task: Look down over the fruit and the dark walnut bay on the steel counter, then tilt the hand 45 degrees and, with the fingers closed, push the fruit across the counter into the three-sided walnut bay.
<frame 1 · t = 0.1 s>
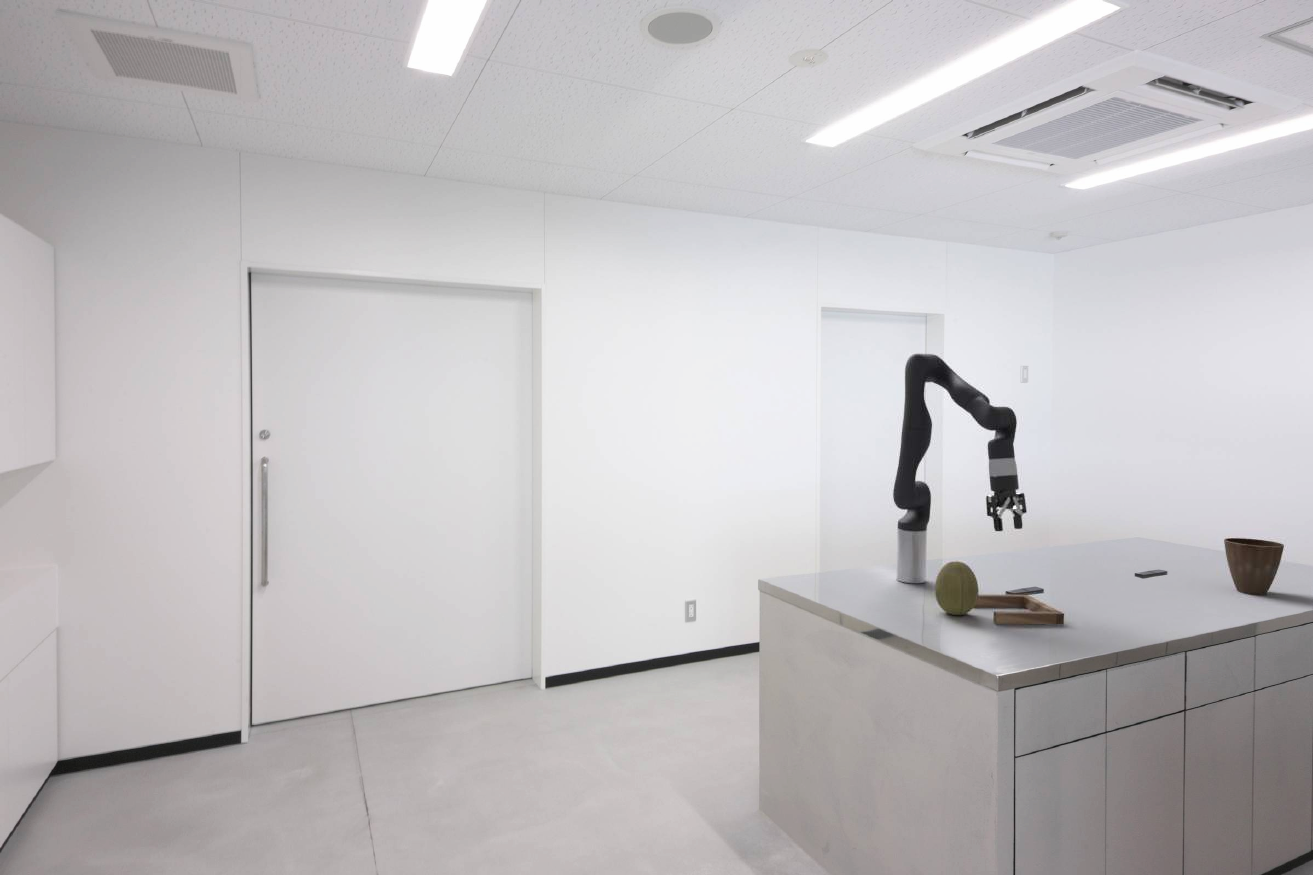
hand: (1008, 529, 221), 22 cm above the table, tool pointing down, fingers open, 8 cm apart
fruit: (955, 614, 214), on the table
walnut bay: (1009, 614, 214), on the table
plant pot: (1251, 592, 240), on the table
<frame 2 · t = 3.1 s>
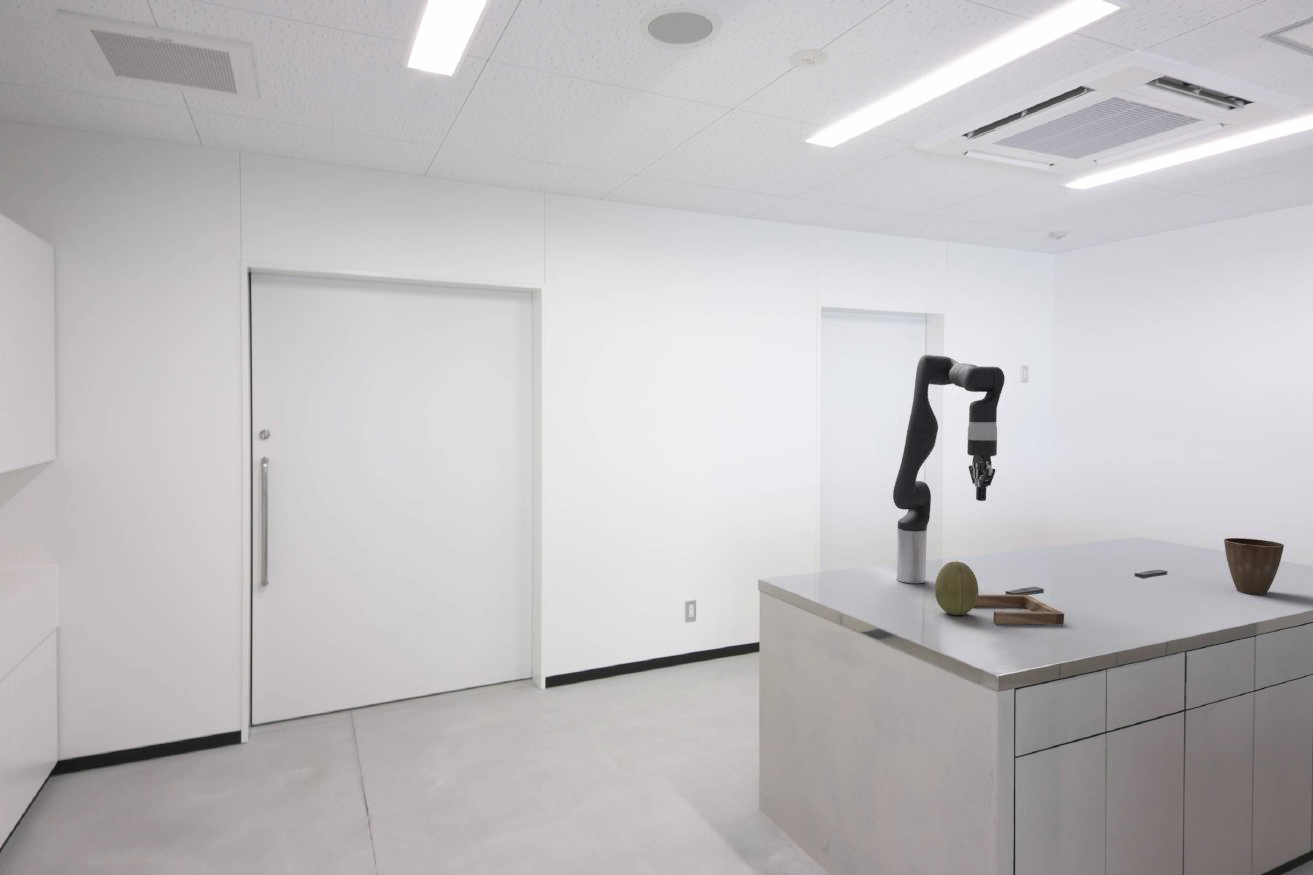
hand: (980, 500, 212), 32 cm above the table, tool pointing down, fingers closed
nothing on the table moved.
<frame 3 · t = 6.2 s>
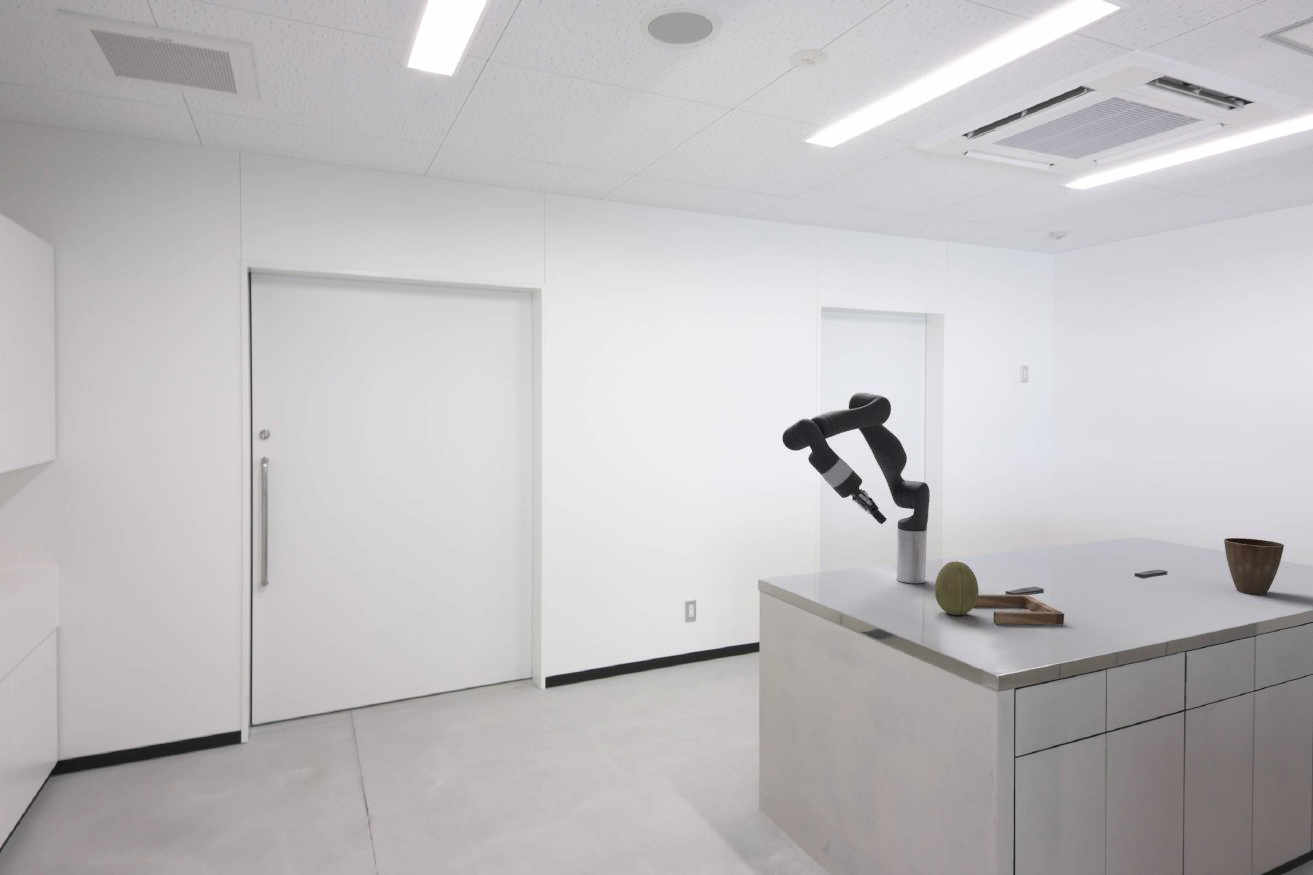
hand: (883, 521, 212), 26 cm above the table, tool tilted 45°, fingers closed
nothing on the table moved.
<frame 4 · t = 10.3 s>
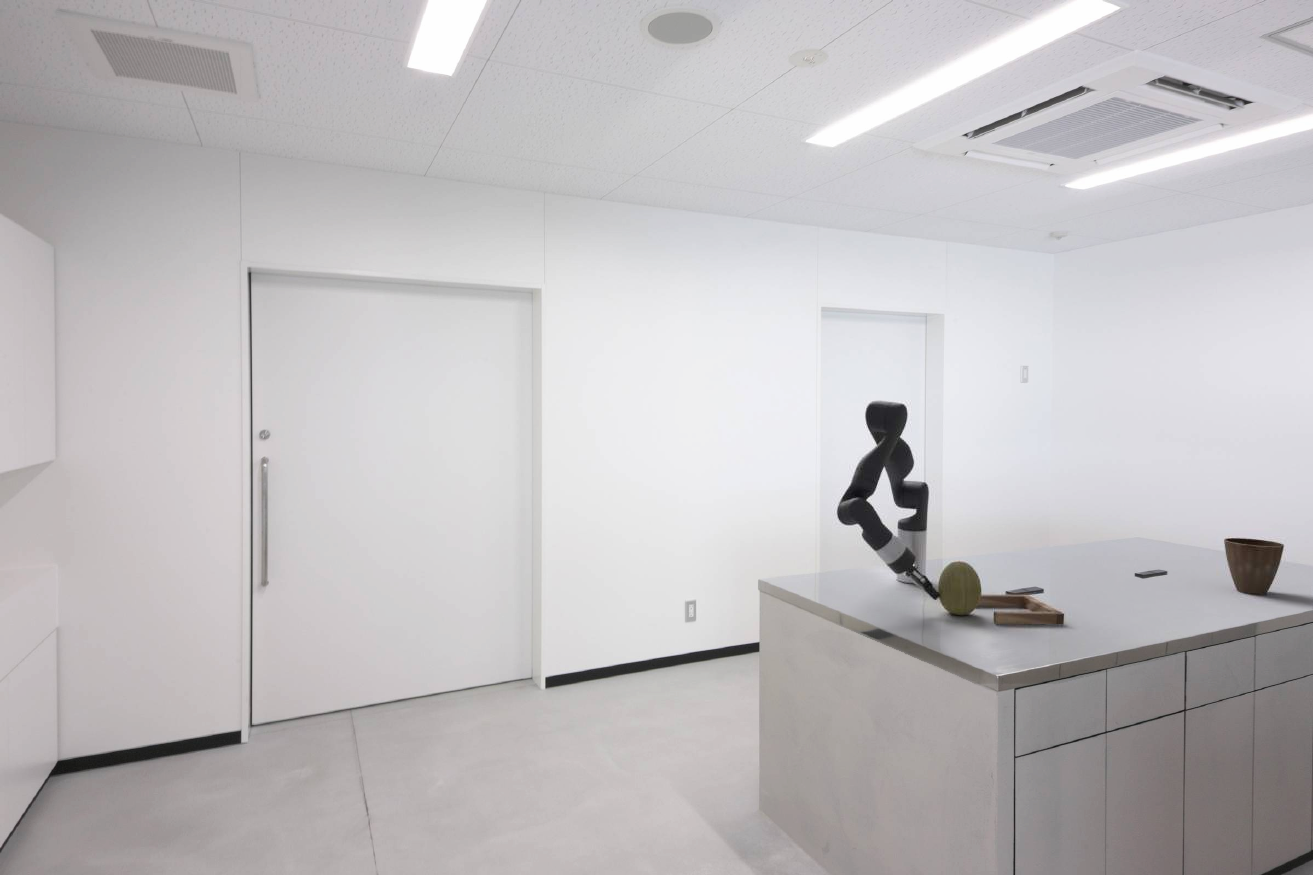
hand: (937, 597, 213), 5 cm above the table, tool tilted 45°, fingers closed
fruit: (958, 614, 214), on the table, touching gripper
everything else where it was.
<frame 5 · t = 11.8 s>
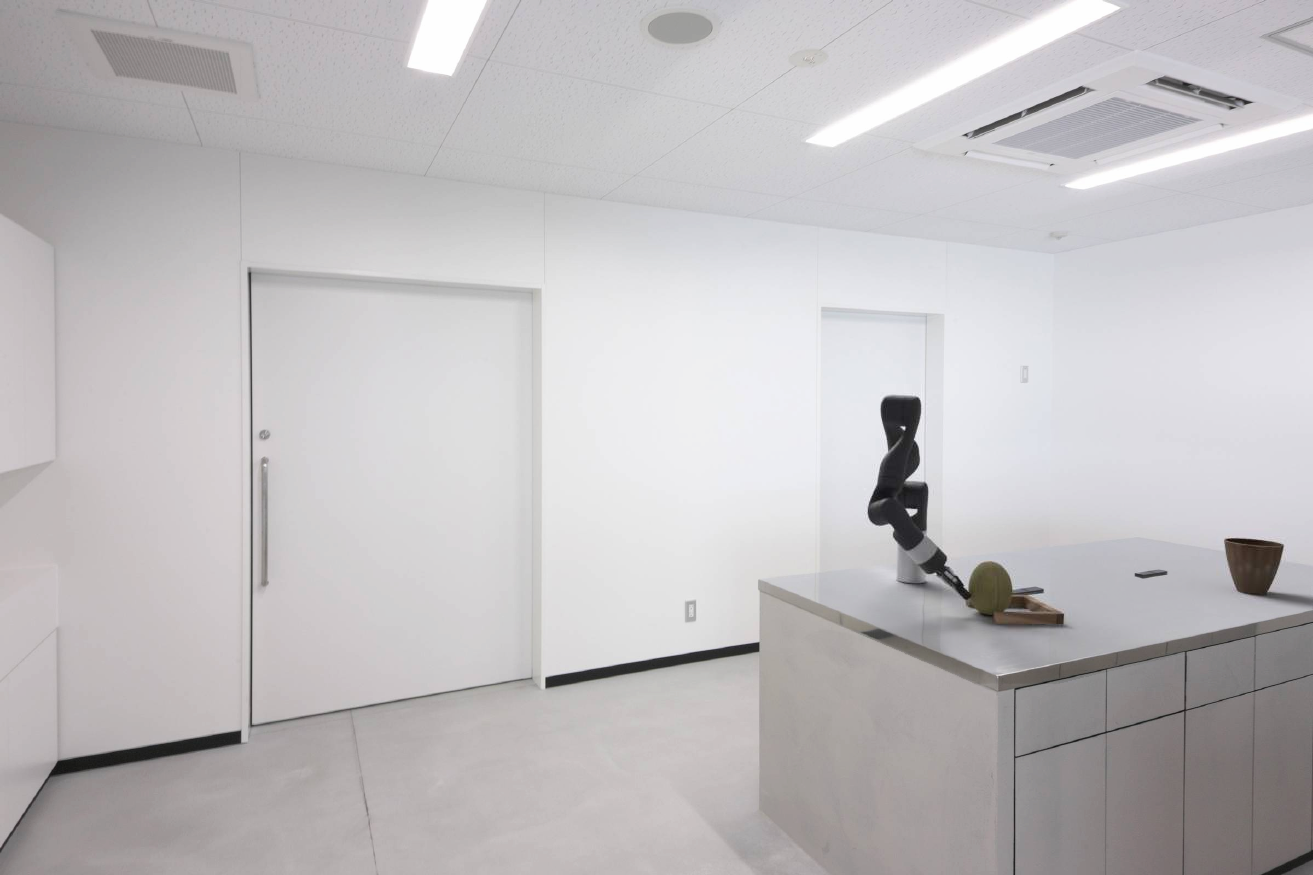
hand: (968, 597, 213), 5 cm above the table, tool tilted 45°, fingers closed
fruit: (989, 614, 214), on the table, touching gripper
everything else where it was.
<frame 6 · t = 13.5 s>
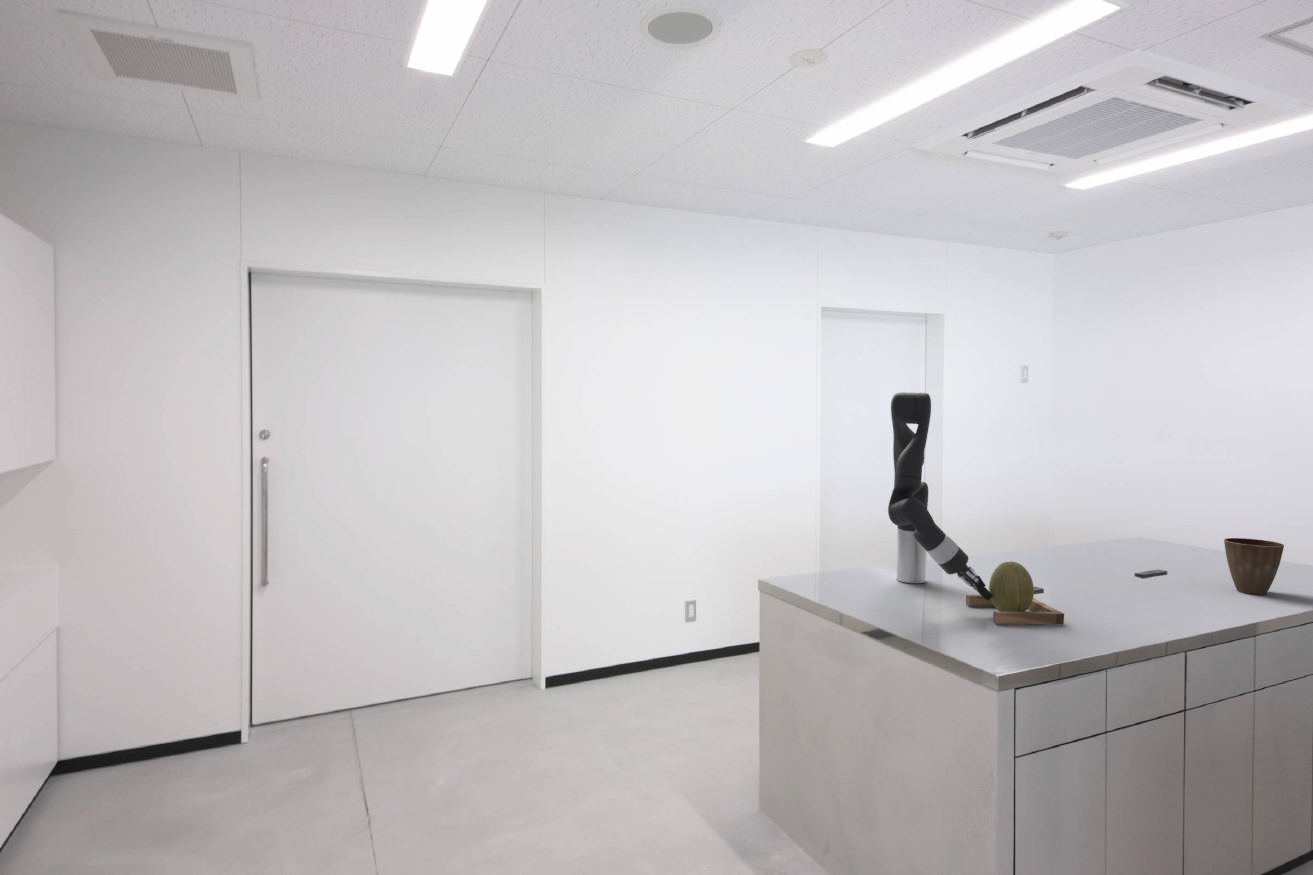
hand: (989, 597, 213), 5 cm above the table, tool tilted 45°, fingers closed
fruit: (1010, 614, 214), on the table, touching gripper
everything else where it was.
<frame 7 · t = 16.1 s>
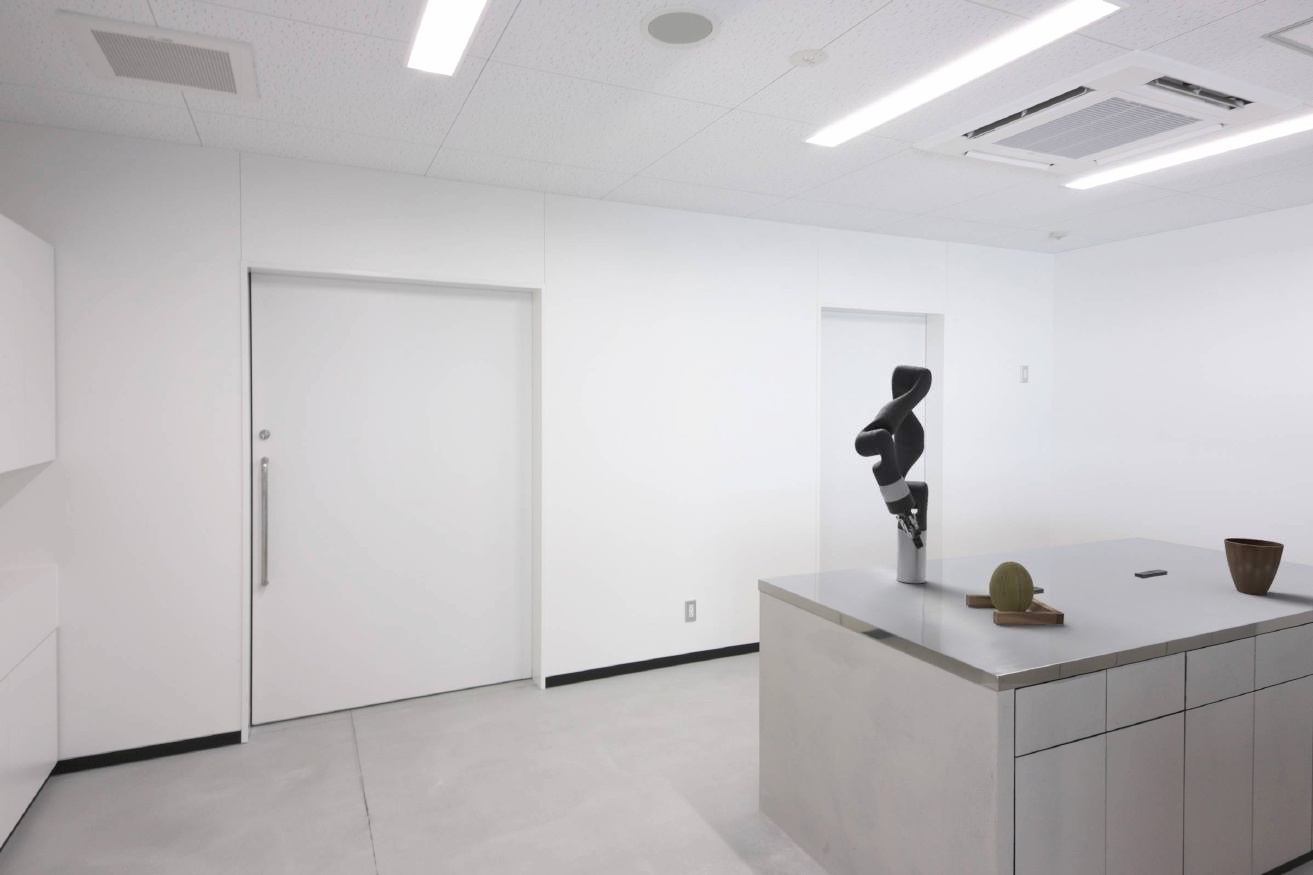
hand: (919, 547, 219), 18 cm above the table, tool tilted 25°, fingers closed
fruit: (1010, 614, 214), on the table
everything else where it was.
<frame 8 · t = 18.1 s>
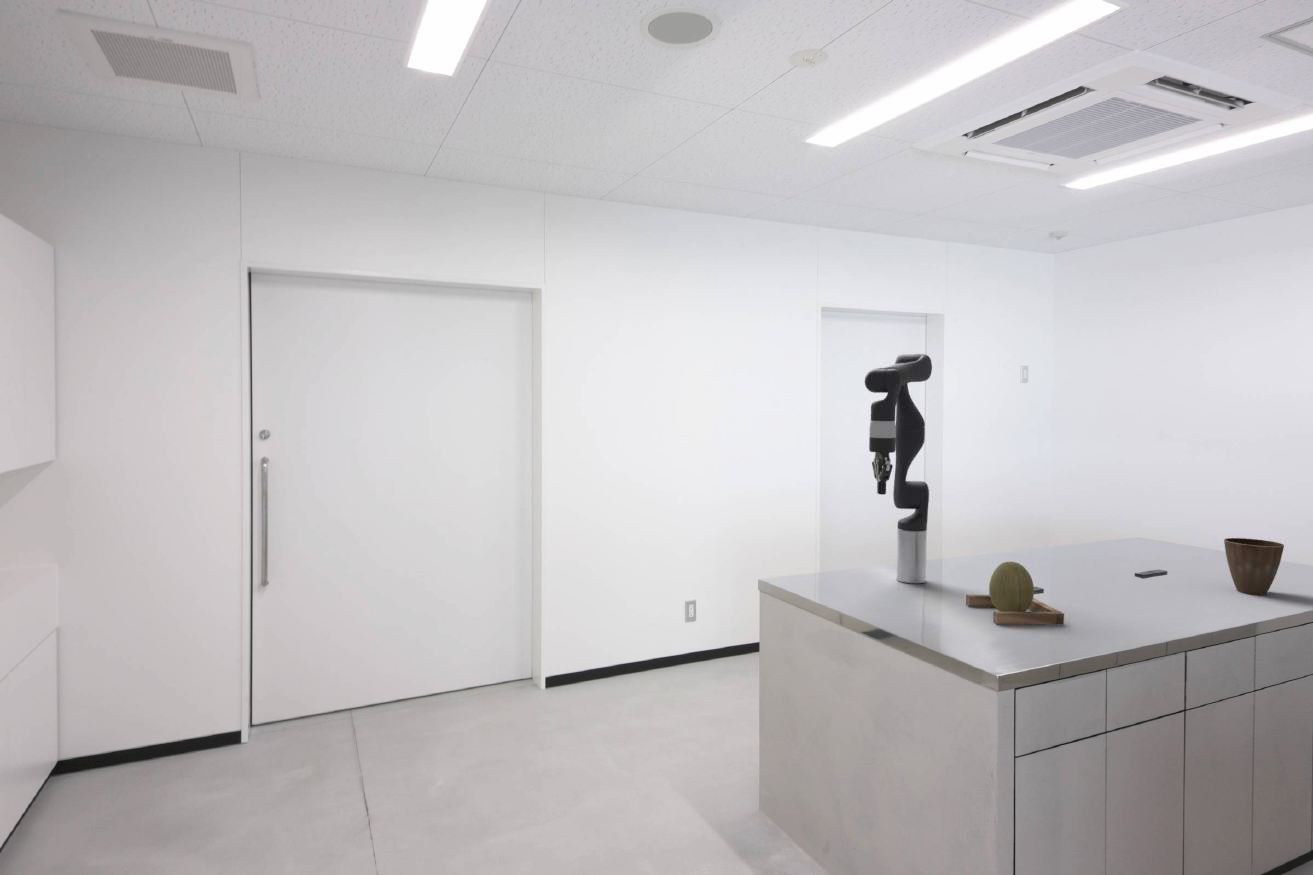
hand: (881, 494, 227), 32 cm above the table, tool pointing down, fingers closed
nothing on the table moved.
at the end: fruit inside the target area on the walnut bay (0.6 cm from its centre), point 0.0 cm above the walnut bay's base; fruit moved 15.4 cm from its start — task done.
